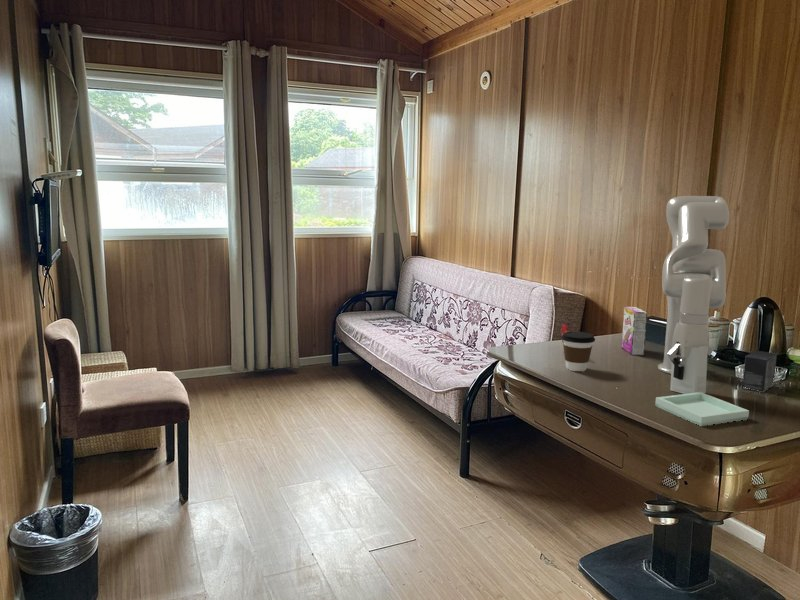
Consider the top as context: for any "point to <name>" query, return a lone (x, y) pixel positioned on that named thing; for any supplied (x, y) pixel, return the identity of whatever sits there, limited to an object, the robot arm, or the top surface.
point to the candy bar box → (634, 330)
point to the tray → (701, 408)
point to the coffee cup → (577, 349)
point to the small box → (759, 370)
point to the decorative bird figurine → (564, 330)
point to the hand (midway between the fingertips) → (688, 377)
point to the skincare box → (692, 372)
